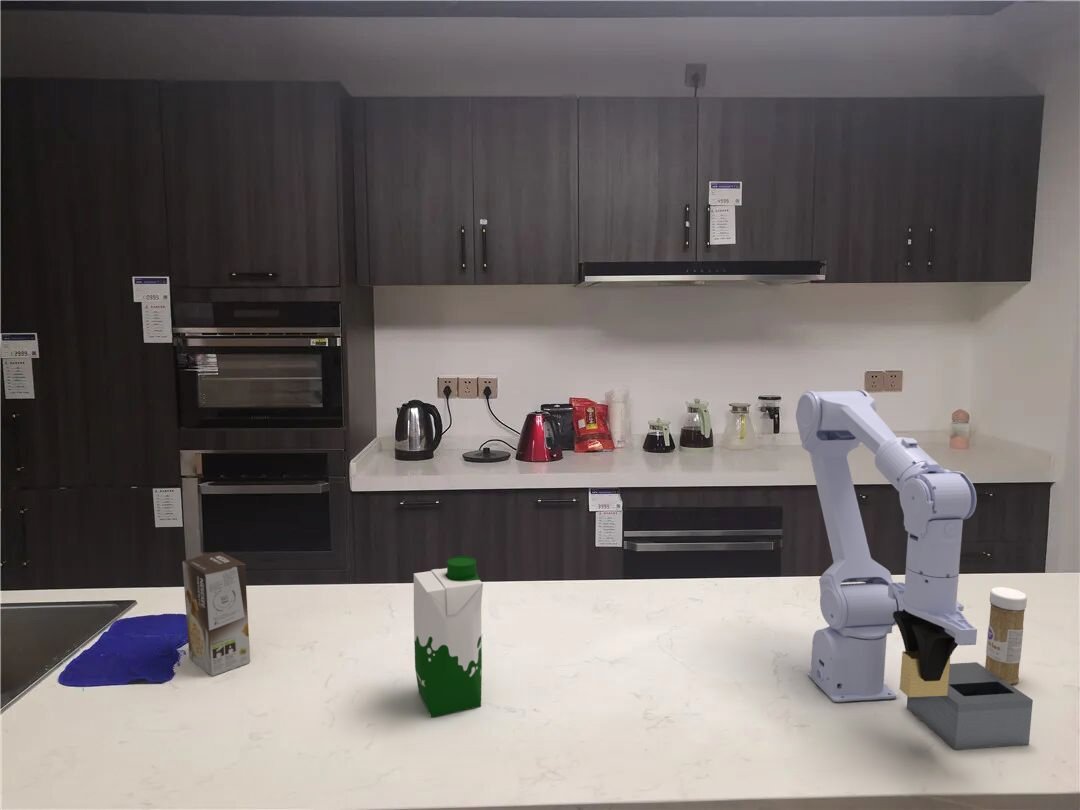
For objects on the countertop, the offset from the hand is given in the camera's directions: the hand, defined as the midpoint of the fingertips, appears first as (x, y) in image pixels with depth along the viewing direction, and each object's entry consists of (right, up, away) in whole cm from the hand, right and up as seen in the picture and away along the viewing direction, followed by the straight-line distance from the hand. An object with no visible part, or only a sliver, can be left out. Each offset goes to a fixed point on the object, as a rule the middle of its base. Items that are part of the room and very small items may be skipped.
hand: (924, 674), depth 91 cm
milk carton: (-61, -8, +12) cm, 63 cm away
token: (0, -2, 0) cm, 2 cm away
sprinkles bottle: (+21, -7, +18) cm, 29 cm away
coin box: (+8, -9, +6) cm, 13 cm away
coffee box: (-98, -7, +24) cm, 101 cm away
